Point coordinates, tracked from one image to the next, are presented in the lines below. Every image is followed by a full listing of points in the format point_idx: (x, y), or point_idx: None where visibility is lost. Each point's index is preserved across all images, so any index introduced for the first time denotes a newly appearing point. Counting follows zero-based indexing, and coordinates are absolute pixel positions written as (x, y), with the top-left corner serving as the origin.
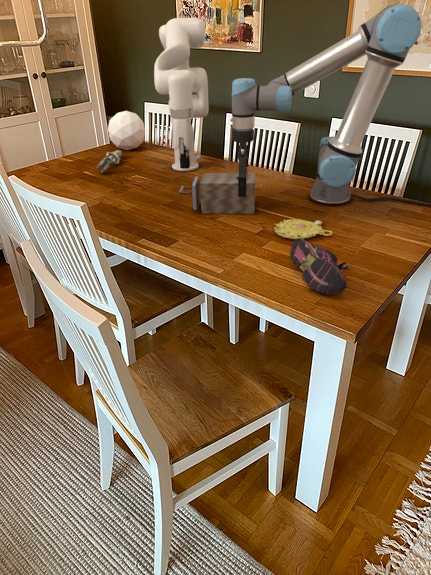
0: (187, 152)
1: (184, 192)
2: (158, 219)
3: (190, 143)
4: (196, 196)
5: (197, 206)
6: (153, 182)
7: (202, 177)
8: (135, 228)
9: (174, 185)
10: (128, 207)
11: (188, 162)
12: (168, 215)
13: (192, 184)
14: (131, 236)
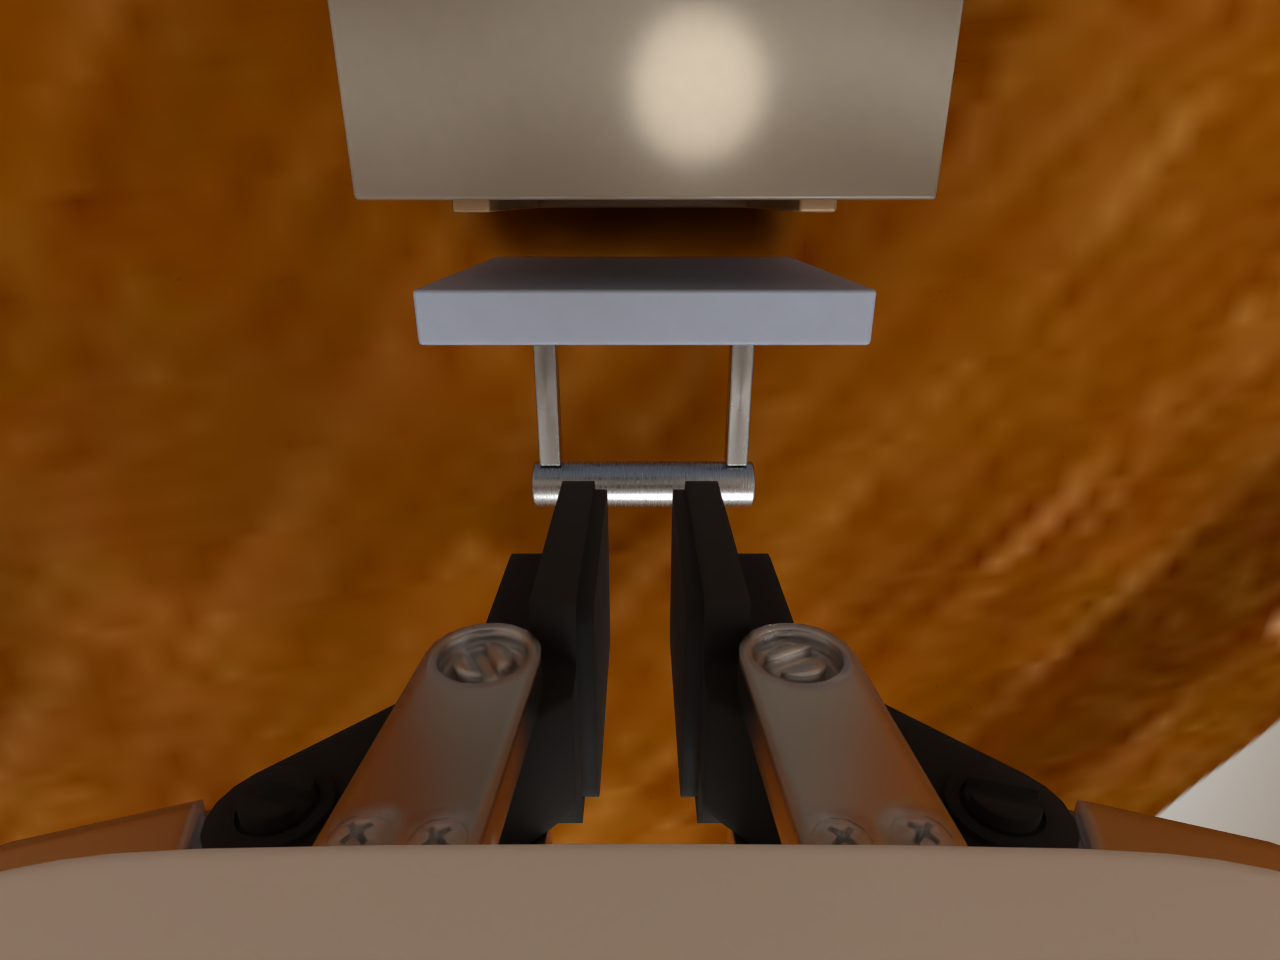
0: (810, 736)
1: (748, 435)
2: (909, 584)
3: (248, 899)
4: (759, 269)
5: (702, 257)
6: (39, 764)
7: (603, 185)
8: (1060, 712)
9: (57, 578)
10: (644, 831)
11: (727, 542)
12: (829, 517)
13: (814, 342)
14: (1199, 711)
